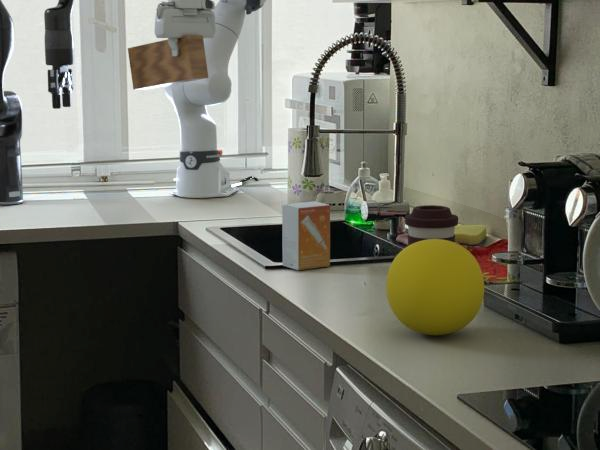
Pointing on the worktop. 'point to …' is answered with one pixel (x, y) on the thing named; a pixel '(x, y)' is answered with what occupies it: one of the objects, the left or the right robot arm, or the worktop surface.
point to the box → (168, 63)
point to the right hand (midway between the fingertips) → (186, 56)
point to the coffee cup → (431, 223)
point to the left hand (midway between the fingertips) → (62, 107)
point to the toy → (435, 287)
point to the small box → (306, 235)
